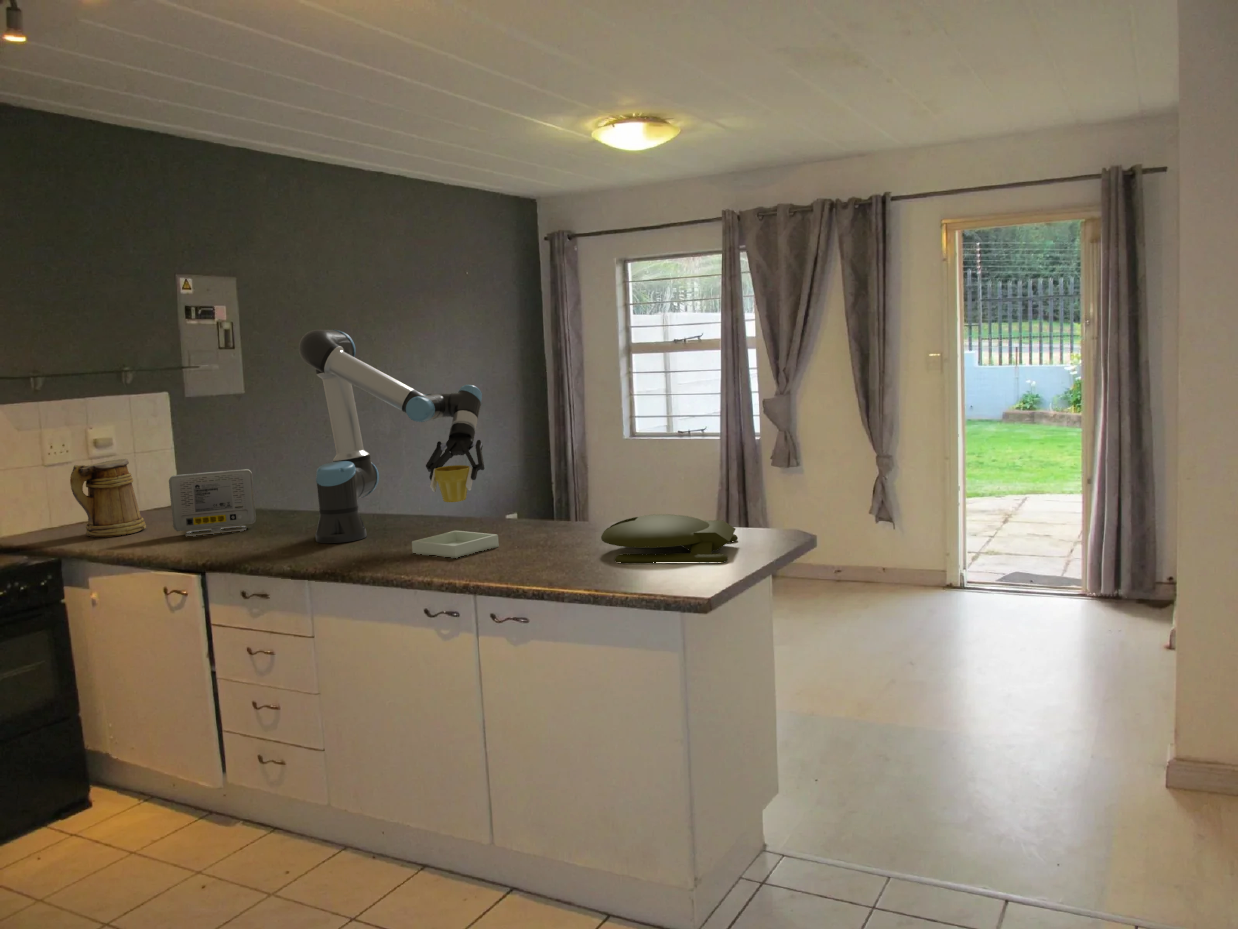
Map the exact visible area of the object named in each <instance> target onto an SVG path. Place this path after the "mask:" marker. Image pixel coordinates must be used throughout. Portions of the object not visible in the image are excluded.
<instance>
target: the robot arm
mask: <svg viewBox="0 0 1238 929" xmlns="http://www.w3.org/2000/svg"><path fill="white" fill-rule="evenodd" d="M356 350H357V349H356V345H355V343H354V340H353V339H352V337H351V336H350V335H349V334H348V333H346V332H344V331H341V330H338V329H335V328H334V329H314V330H313V329H312V330H310V331H308V332H306V333H305V334H304V335H303V336H302V337H301V338H300V341H299V344H298V353H299V356H300V358H301V360H302V361H303V362H304V363H305V364H307V365H308V366H310V367H311V368H313V369H315V373H316V377H318V378H320V379H321V380H322V383H323V388H324V389H323V390H324V394H325V400H326V405H327V409H328V410H327V411H328V415H329V420H330V426H331V431H332V435H333V436H332V437H333V441H334V446H335V452H336V455H335V456H334V458H333V459H332V461H331V462H328V463H327V462H326V463H324V464H321V465H320V466H319V467H317V468H316V471H315V472H316V476H315V482H316V489H317V498H318V499H317V500H318V508H319V509H318V510H319V518H318V523H317V528H316V532H315V542H316V543H321V544H340V543H347V542H348V543H349V542H355V541H359V540H363V539H365V538H366V537H367V536H368V535H367V529H366V527H365V524H364V520H363V519H362V517H361V514H360V511H359V500H358V499H361V498H365V497H367V496H368V495H370V494H371V493H373V492H374V490H376V488H377V487H378V485H379V482H380V474H379V470H378V468H377V466H376V464H374V463H373V462H372V459H371V454H370V453H369V452H368V451H367V450H365V448H364V443H363V437H362V432H361V427H360V420H359V416H358V411H357V406H356V400H355V395H354V390H353V386H355V387H356V388H358V389H360V390H362V391H364V392H366V393H367V394H369V395H372V396H373V397H375V398H377V399H379V400H381V401H382V402H385V403H386V404H388V405H390V406H392V407H394V408H395V409H398V410H399V411H402V412H403V413H404V414H406V415H407V416H408V418H409V419H410V420H412V421H413V422H416V423H417V422H419V423H425V422H428V421H431V420H434V419H441V418H442V419H443V418H445V419H446V418H452V420H451V425H450V430H449V434H448V440H447V441H446V442H442V441H437V442H436V448H435V449H434V450H433V453H432V454H431V456H429V457H430V458H429V459H428V461H427V462H426V464H425V467H426V470H427V471H428V472H429V473H430V474H429V480H430V485H429V487H430V490H431V491H432V492H433V493H435V492H436V490H437V485H438V481H436V480H435V469H436V468H439V467H444V465H446V463H447V462H448V461H449V460H450V459H452V458H453V457H455V456H464V455H466V456H465V457H466V458H467V459H468V462H469V463H470V466H469V473H468V477H467V482H466V487H467V492H468V491H469V492H470V491H472V486H473V481H476V479H477V477H478V472H479V471H484V470H485V465H484V464H485V463H484V462H485V461H484V458H483V451H482V450H483V447H484V446H483V443H482V441H481V440H480V439H477V441H474V440H475V436H476V435H475V434H476V430H477V425H478V419H479V415H480V410H481V407H482V400H483V394H482V391H481V390H480V389H479V387H477V386H476V385H473V384H463V386H461V387H460V388H459V389H458V391H457V392H455V393H454V392H451V393H426V394H424V393H423V392H422V393H421V392H419V391H418V390H416V389H415V388H413V387H411V386H409V385H407V384H405V383H403V382H401V381H400V380H398V379H397V378H394V377H392V376H391V375H388V374H386V373H385V372H382V371H380V369H377V368H375V367H373V366H372V365H370V364H368V363H366V362H364V361H362V360H360V359H358V358H356V352H357V351H356ZM473 447H474V449H475V452H476V457H477V459H476V460H477V464H476V462H475V460H474V458H473V456H472V454H471V453H470V450H472V449H473Z"/></svg>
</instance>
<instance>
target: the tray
mask: <svg viewBox="0 0 1238 929" xmlns="http://www.w3.org/2000/svg"><path fill="white" fill-rule="evenodd" d="M499 547H500V546H499V534H495V533H486V532H484V533H483V532H474V531H466V530H465V531H464V530H451V531H449V532H444V533H440V534H439V533H438V534H437V535H436V534H435V535H432V536H428V537H424V538H420V539H416V540H411V548H412V549H411V550H412V554H413V553H416V554H415V555H420V554H422V555H421V556H429V555H437V556H444V557H443V558H445V557H451V558H450V559H453V558H456V559H459V558H458V557H460V556H464V555H467V556H470V555H469V554H471V555H473V554H472V553H474V554H476V553H475V552H478V551H482V552H485V551H488V550H487V549H489V550H492V549H496V548H499ZM491 548H492V549H491ZM484 550H485V551H484ZM478 553H479V552H478ZM437 556H436V557H437ZM464 557H465V556H464ZM460 558H461V557H460Z"/></svg>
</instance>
